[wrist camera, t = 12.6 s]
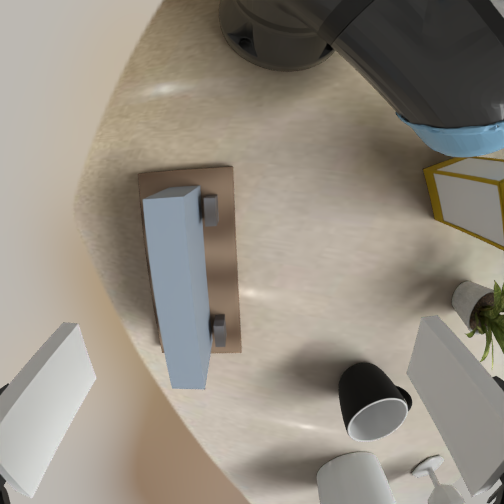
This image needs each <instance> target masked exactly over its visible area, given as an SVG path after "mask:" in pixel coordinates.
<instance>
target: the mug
mask: <svg viewBox="0 0 504 504" xmlns="http://www.w3.org/2000/svg"><path fill="white" fill-rule="evenodd" d="M404 399H405V400H406V402H407V404H406V402H405V400H404ZM339 400H340V406H341V412H342V416H343V420H344V424H345V427H346V430H347V433H348V435H349V436H350V437H351V438H352V439H353V440H356V441H359V442H370V441H375V440H378V439H381V438H383V437H386V436H387V435H389V434H391V433H392V432H394V431H395V430H396V429H397V428H398V427H399V426H400V425H401V424H402V423H403V422H404V420H405V418H406V416H407V413H408V411H409V410H410V408H411V406H412V399H411V396H410V395H409V394H408V392H406V391H405V390H404V389H402V388H400V387H398V386H395V385H394V384H393V382H392V381H391V380H390V379H389V377H388V376H387V375H386V374H385V373H384V372H383V371H382V370H381V369H380V368H378V367H377V366H375V365H373V364H370V363H359V364H356V365H354V366H352V367H350V368H349V369H348V370H346V371H345V372H344V374H343V375H342V377H341V379H340V382H339Z"/></svg>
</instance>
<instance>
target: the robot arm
mask: <svg viewBox="0 0 504 504" xmlns="http://www.w3.org/2000/svg"><path fill="white" fill-rule="evenodd" d="M219 19H220V25H221V29H222V32H223V35H224V37H225V39H226V40H227V42H228V43H229V45H230V46H231V47H232V48H233V49H234V51H236V52H237V53H238V54H239V55H240V56H241V57H243V58H244V59H246V60H248V61H249V62H251V63H253V64H255V65H258V66H260V67H263V68H267V69H271V70H276V71H298V70H304V69H308V68H311V67H314V66H316V65H318V64H320V63H322V62H323V61H325V60H326V59H327V58H329V57H330V56H331V55H332V54H333V53H334V52H335V51H337V52H338V53H339V54H340V55H341V56H342V57H343V58H344V59H345V60H346V61H347V62H349V63H350V64H351V65H352V66H353V67H354V68H355V69H356V70H357V71H358V72H359V73H360V74H361V75H362V76H363V77H364V78H365V79H366V80H367V81H368V82H369V83H370V84H371V85H372V86H373V87H374V88H375V89H376V90H377V91H378V92H379V93H380V95H381V96H382V97H383V98H384V99H385V100H386V101H387V102H388V103H389V104H390V105H391V106H392V108H393V109H394V110H395V111H396V115H397V116H398V117H399V118H400V120H401V121H403V122H404V123H405V124H407V125H409V126H410V127H411V128H412V129H413V130H414V131H415V132H416V134H417V135H418V136H419V137H420V138H421V139H422V140H423V142H424V143H425V144H426V145H427V146H429V147H430V148H431V149H433V150H434V151H438V152H440V153H442V154H444V155H447V156H452V157H475V156H481V155H485V154H489V153H492V152H495V151H498V150H500V149H503V148H504V0H221V1H220V6H219ZM407 375H408V377H409V378H410V380H411V382H412V383H413V385H414V387H415V389H416V390H417V392H418V394H419V396H420V398H421V399H422V401H423V403H424V405H425V406H426V408H427V410H428V412H429V414H430V416H431V417H432V419H433V421H434V423H435V425H436V427H437V428H438V430H439V432H440V434H441V436H442V438H443V440H444V442H445V444H446V446H447V447H448V449H449V451H450V453H451V455H452V457H453V459H454V461H455V463H456V465H457V467H458V469H459V471H460V473H461V475H462V477H463V480H464V482H465V484H466V486H467V488H468V490H469V492H470V494H471V497H474V496H476V495H478V494H480V493H482V492H484V491H486V490H489V489H490V488H491V487H492V486H493V485H494V484H495V483H496V482H497V480H498V479H499V478H500V480H501V482H502V485H501V486H500V487H499V488H498V489H497V490H496V491H495V492H494V493H493V494H492V496H490V498H489V499H488V501H487V503H490V502H491V501H492V500H493V499H494V498H495V497H496V496H497V497H496V501H495V502H494V503H493V504H504V381H503V380H502V379H500V378H499V377H497V376H495V377H491V375H490V374H489V373H488V372H487V371H486V369H485V368H484V367H483V366H482V365H481V364H480V362H479V361H478V360H477V359H476V358H475V357H474V355H473V354H472V353H471V352H470V351H469V350H468V348H467V347H466V346H465V345H464V344H463V343H462V342H461V341H460V339H459V338H458V337H457V336H456V335H455V334H454V333H453V332H452V331H451V329H450V328H449V327H448V326H447V325H446V324H445V323H444V322H443V321H442V320H441V319H440V318H439V317H438V315H437V316H429V317H422V318H421V322H420V326H419V330H418V334H417V338H416V342H415V346H414V350H413V353H412V357H411V360H410V364H409V367H408V371H407ZM95 380H96V375H95V372H94V370H93V367H92V364H91V361H90V358H89V355H88V352H87V349H86V346H85V343H84V340H83V337H82V333H81V330H80V327H79V324H77V323H76V324H75V323H65V322H64V323H63V324H62V325H61V326H60V327H59V328H58V329H57V330H56V331H55V332H54V333H53V334H52V335H51V337H50V338H49V339H48V340H47V341H46V342H45V343H44V344H43V345H42V347H41V348H40V349H39V350H38V351H37V352H36V353H35V355H34V356H33V357H32V358H31V359H30V360H29V362H28V363H27V364H26V365H25V366H24V368H23V369H22V370H21V371H20V372H19V373H18V375H17V376H16V377H15V378H14V379H13V380H12V382H11V383H10V384H7V385H5V386H4V387H2V388H1V389H0V504H10V500H9V496H8V493H7V490H6V489H5V487H4V484H5V482H6V481H7V483H8V484H9V485H10V486H11V487H12V488H13V489H14V490H15V491H17V492H19V493H21V494H23V495H25V496H28V497H29V498H33V496H34V494H35V492H36V490H37V488H38V486H39V484H40V481H41V479H42V477H43V475H44V473H45V471H46V469H47V467H48V465H49V463H50V462H51V459H52V458H53V456H54V454H55V452H56V450H57V448H58V446H59V444H60V442H61V440H62V439H63V437H64V435H65V433H66V431H67V429H68V427H69V426H70V424H71V422H72V420H73V418H74V416H75V415H76V413H77V411H78V409H79V408H80V406H81V404H82V402H83V401H84V399H85V397H86V395H87V393H88V392H89V390H90V388H91V387H92V385H93V383H94V382H95Z"/></svg>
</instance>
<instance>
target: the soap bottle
mask: <svg viewBox="0 0 504 504" xmlns="http://www.w3.org/2000/svg"><path fill="white" fill-rule="evenodd" d="M423 172H424V175H425V179H426V183H427V187H428V191H429V196H430V200H431V204H432V209H433V213H434V218H435V220H437V221H439V222H442V223H444V224H446V225H449V226H451V227H453V228H456V229H458V230H460V231H462V232H465V233H467V234H469V235H471V236H474V237H476V238H478V239H480V240H482V241H484V242H487V243H489V244H491V245H493V246H495V247H497V248H499V249H501V250H503V251H504V160H503V159H494V158H485V157H455V158H452V159H449V160H447V161H444V162H441V163H438V164H436V165H433V166H430V167H427V168H425V169H423Z"/></svg>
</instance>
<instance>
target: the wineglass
mask: <svg viewBox="0 0 504 504" xmlns="http://www.w3.org/2000/svg"><path fill="white" fill-rule="evenodd" d="M443 461H444V458H442V457H441V456H440V455H438V456H434V457H430V458H428V459H426V460H425V461H424V462H422V463H421V464H419V465H418V466H417V467H416V468H415V470H414V471H413V472H412V475H413V476H415V477H417V478H418V477H422V476H426V475H428V474H429V476H430V478H431V480H432V482H433V484H434V486H435V488H434V490H433V492H432V493H431V495H430V497H429V499H428V504H465V501H464V499H463V497H462V495H461V493H460V492H459V491H458V490H457V489H456V488H455V487H454V486H452V485H442V484H440V483H439V481H438V479H437V477H436V475H435V473H434V470H436V469H437V468H438V467H439V466H440V465H441V464H442V462H443Z"/></svg>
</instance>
